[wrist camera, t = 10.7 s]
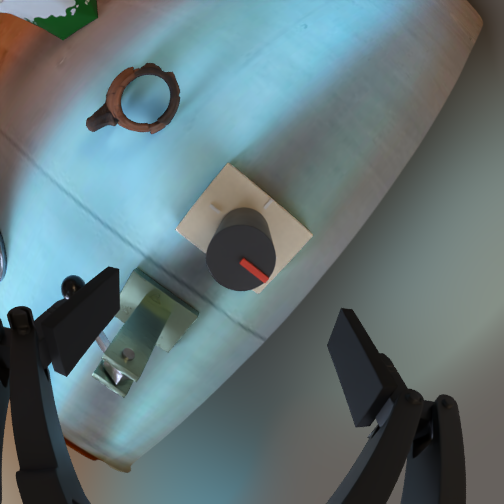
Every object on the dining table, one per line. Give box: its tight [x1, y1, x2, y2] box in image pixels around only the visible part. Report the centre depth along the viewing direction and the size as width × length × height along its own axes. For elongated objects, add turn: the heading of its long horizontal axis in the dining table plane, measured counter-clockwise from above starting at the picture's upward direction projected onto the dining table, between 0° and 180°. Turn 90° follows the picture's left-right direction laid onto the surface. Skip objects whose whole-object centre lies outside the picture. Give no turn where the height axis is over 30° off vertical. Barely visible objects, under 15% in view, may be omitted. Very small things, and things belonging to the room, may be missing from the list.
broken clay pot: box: [86, 63, 180, 134], centre depth 27 cm, size 12×10×8 cm
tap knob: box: [206, 207, 276, 291], centre depth 27 cm, size 6×6×10 cm
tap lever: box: [61, 275, 130, 385], centre depth 27 cm, size 15×4×4 cm, turn 53°
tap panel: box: [175, 163, 313, 294], centre depth 33 cm, size 13×10×3 cm
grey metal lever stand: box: [92, 268, 199, 398], centre depth 31 cm, size 11×9×15 cm
